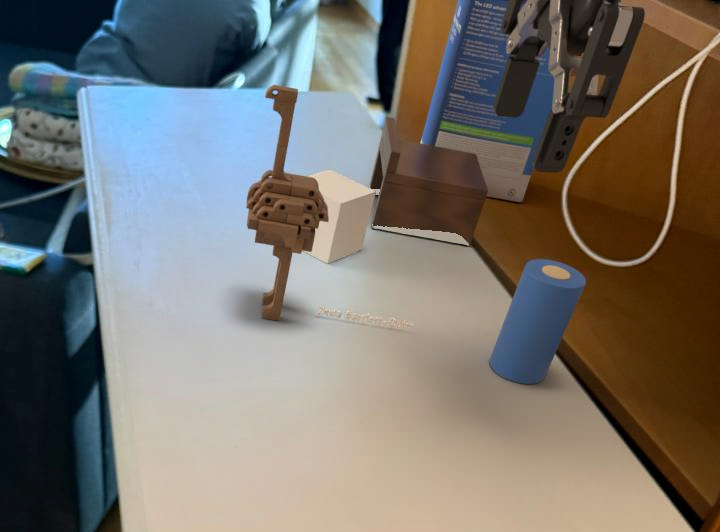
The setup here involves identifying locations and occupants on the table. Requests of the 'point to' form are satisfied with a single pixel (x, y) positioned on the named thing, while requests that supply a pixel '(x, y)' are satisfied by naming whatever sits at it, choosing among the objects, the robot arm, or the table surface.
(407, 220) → the dark brown wooden box
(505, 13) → the robot arm
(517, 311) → the blue cylinder
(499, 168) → the string lights box
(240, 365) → the table surface
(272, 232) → the brown mechanical linkage
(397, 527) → the table surface
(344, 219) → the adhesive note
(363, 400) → the table surface
